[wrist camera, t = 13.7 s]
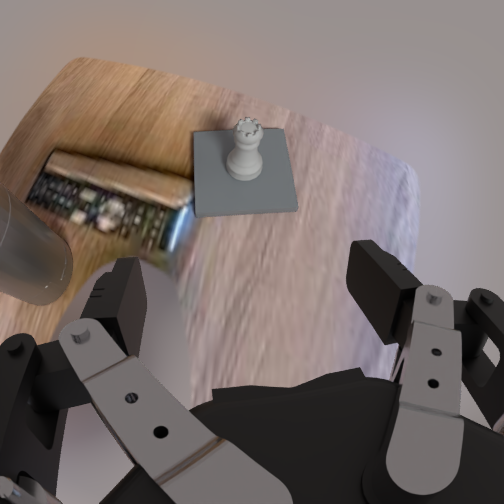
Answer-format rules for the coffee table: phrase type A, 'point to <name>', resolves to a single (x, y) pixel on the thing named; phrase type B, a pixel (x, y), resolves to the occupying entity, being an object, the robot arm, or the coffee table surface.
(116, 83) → the coffee table surface
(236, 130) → the rook chess piece
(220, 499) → the robot arm
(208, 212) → the slate tile
